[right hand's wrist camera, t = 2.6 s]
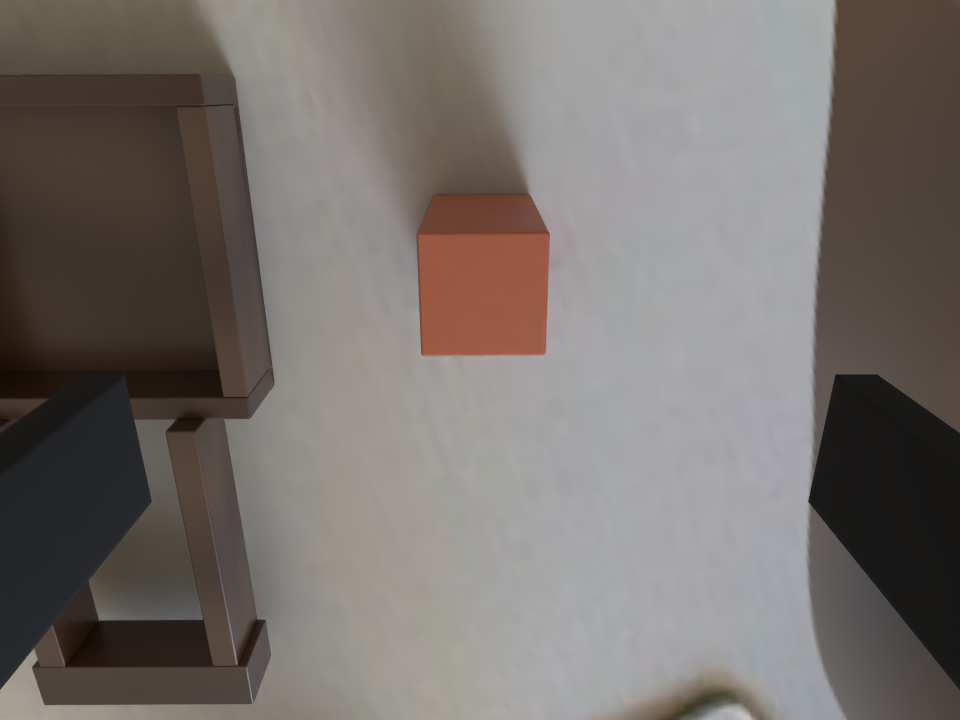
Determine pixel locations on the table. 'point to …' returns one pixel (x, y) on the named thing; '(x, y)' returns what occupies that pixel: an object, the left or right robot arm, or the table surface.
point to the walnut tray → (140, 343)
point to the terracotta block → (483, 276)
